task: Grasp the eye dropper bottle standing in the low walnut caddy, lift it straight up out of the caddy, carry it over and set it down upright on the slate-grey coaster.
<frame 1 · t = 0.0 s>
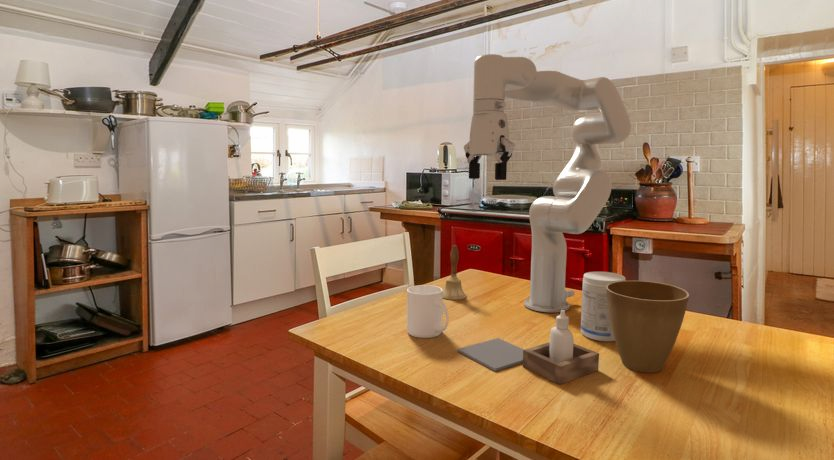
hand: (487, 179, 118), 37 cm above the table, tool pointing down, fingers open, 9 cm apart
mug: (429, 335, 114), on the table
plant pot: (640, 366, 97), on the table
eye dropper bottle: (560, 369, 95), resting in caddy
supplement tub: (601, 336, 114), on the table
hand bell: (453, 297, 147), on the table
caddy: (560, 368, 95), on the table
coaster: (496, 354, 102), on the table
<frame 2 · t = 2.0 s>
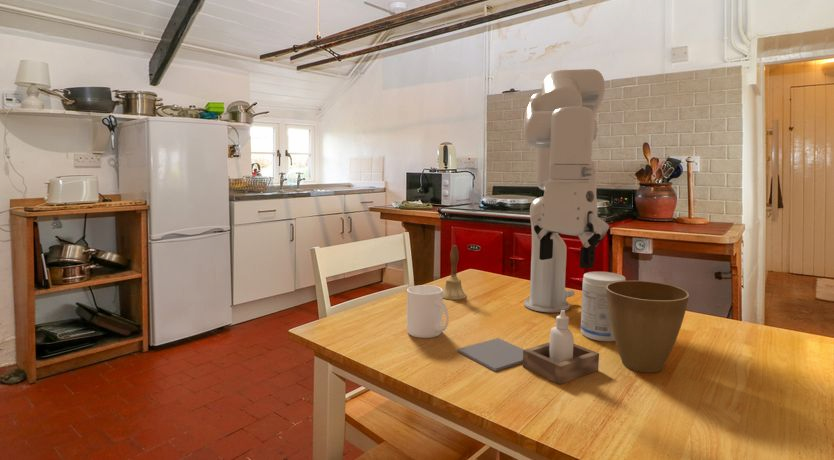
hand: (565, 263, 92), 22 cm above the table, tool pointing down, fingers open, 9 cm apart
nothing on the table moved.
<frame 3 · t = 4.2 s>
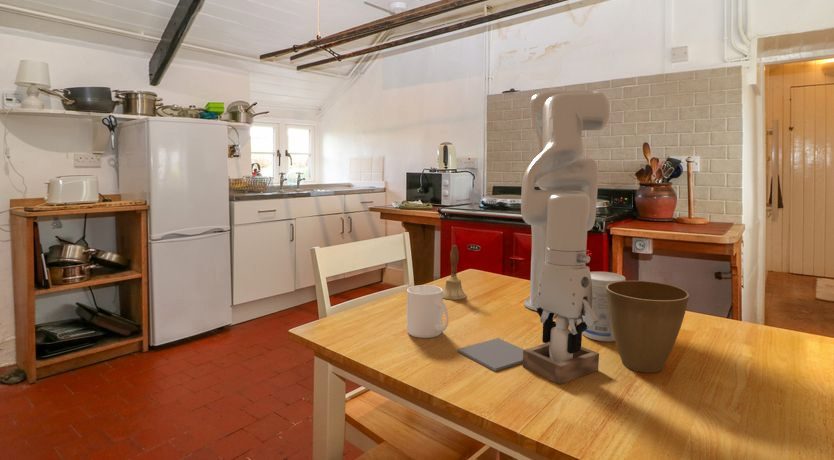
hand: (561, 345, 95), 5 cm above the table, tool pointing down, fingers closed on eye dropper bottle, 5 cm apart
eye dropper bottle: (560, 369, 95), resting in caddy, touching gripper
everything else where it was.
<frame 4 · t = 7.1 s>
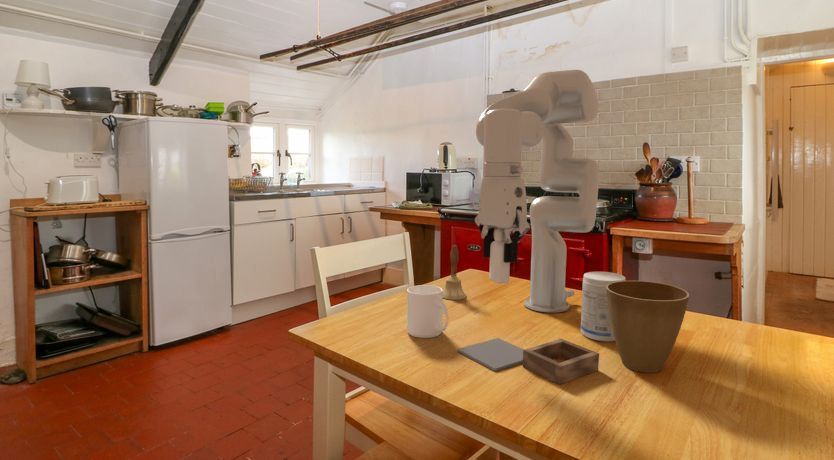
hand: (499, 258, 99), 21 cm above the table, tool pointing down, fingers closed on eye dropper bottle, 5 cm apart
eye dropper bottle: (499, 281, 100), point 16 cm above the table, touching gripper
everything else where it was.
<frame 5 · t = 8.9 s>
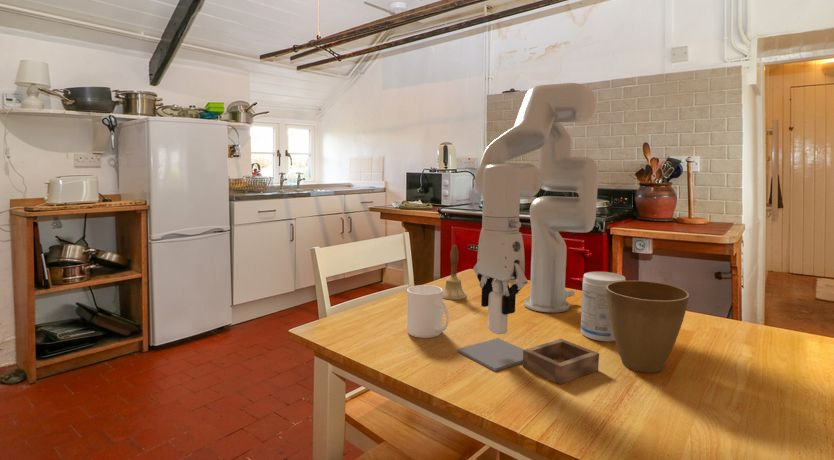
hand: (497, 308, 100), 10 cm above the table, tool pointing down, fingers closed on eye dropper bottle, 5 cm apart
eye dropper bottle: (497, 331, 101), point 5 cm above the table, touching gripper
everything else where it was.
when the fingers open (6 cm above the table, at t = 10.2 s): eye dropper bottle stays where it is, resting on coaster.
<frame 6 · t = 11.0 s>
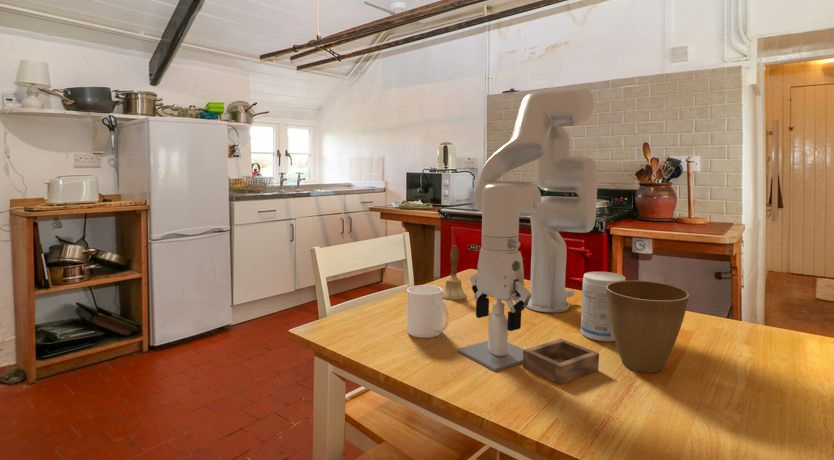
hand: (497, 322, 101), 7 cm above the table, tool pointing down, fingers open, 9 cm apart
eye dropper bottle: (497, 352, 102), resting on coaster
everything else where it was.
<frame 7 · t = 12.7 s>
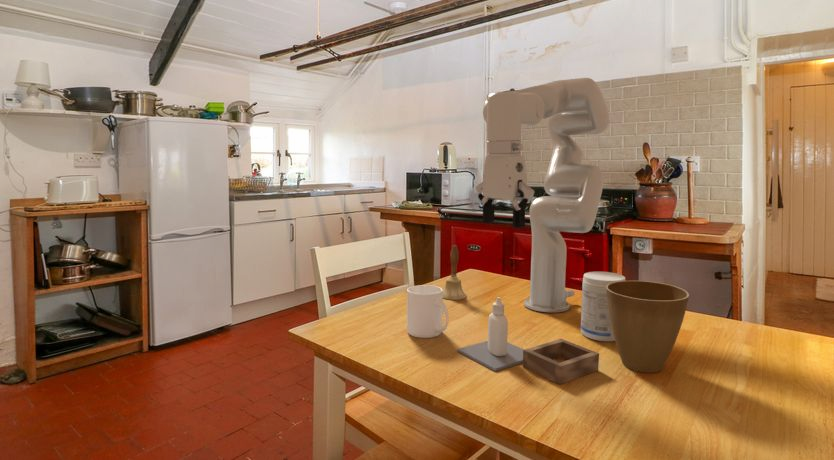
hand: (503, 224, 109), 27 cm above the table, tool pointing down, fingers open, 9 cm apart
nothing on the table moved.
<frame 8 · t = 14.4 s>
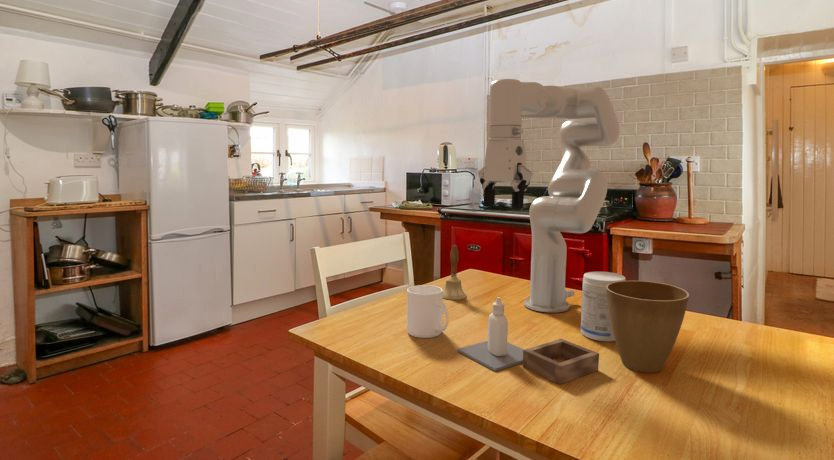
hand: (502, 206, 114), 30 cm above the table, tool pointing down, fingers open, 9 cm apart
nothing on the table moved.
at the end: eye dropper bottle inside the target area on the coaster (0.1 cm from its centre), point 0.4 cm above the coaster's base; eye dropper bottle tilted 0°; the gripper is holding nothing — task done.
